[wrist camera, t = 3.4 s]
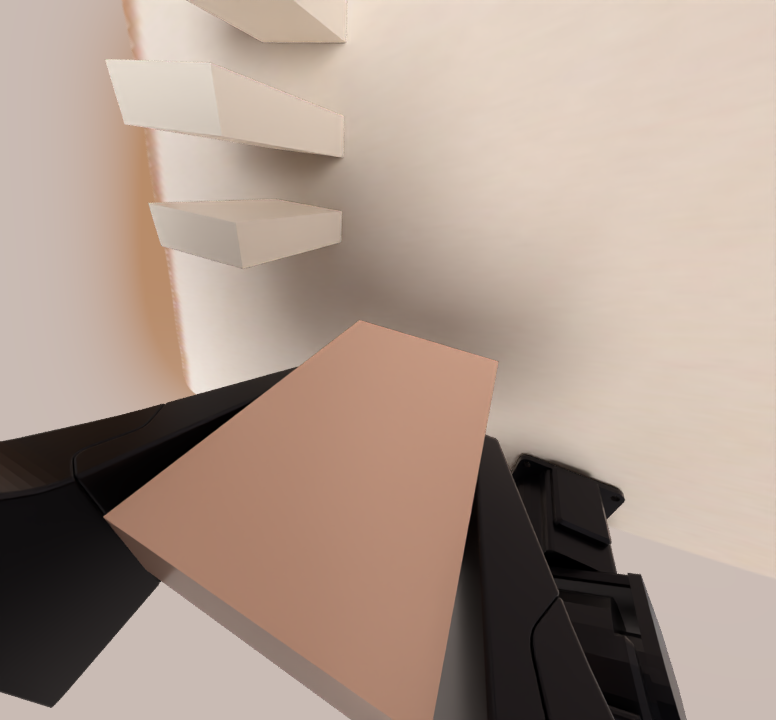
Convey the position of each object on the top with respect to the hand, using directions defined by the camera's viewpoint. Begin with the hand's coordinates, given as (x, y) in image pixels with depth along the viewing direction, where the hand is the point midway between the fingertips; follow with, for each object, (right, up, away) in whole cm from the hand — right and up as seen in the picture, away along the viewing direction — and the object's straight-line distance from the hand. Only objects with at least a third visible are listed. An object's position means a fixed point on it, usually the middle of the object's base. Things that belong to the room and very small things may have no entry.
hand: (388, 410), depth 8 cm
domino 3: (-5, +14, +8) cm, 17 cm away
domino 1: (+1, +1, +2) cm, 3 cm away
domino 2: (-5, +11, +11) cm, 16 cm away
